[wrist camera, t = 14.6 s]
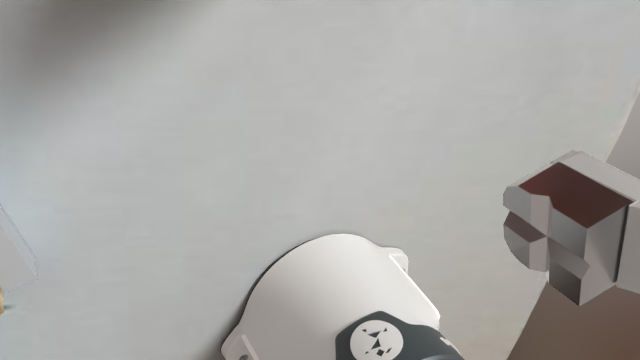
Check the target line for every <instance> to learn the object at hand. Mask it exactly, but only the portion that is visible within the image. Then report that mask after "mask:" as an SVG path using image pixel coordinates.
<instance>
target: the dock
mask: <svg viewBox="0 0 640 360" xmlns="http://www.w3.org/2000/svg"><path fill="white" fill-rule="evenodd" d="M37 279H38V278H37V271H36V264H35V257H34V255H33V254H32V252H31V251H30V249H29V248H28V246H27V245H26V243H25V242H24V240H23V238H22V237H21V235H20V234H19V232H18V231H17V229H16V228H15V226H14V225H13V223H12V222H11V220H10V219H9V217H8V216H7V214H6V213H5V211H4V210H3V208H2V207H1V205H0V287H1V288H2V295H4V294H6V293H8V292H10V291H12V290H15V289H17V288H19V287H21V286H23V285H26V284H28V283H30V282H32V281H34V280H37Z"/></svg>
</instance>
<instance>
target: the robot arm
mask: <svg viewBox="0 0 640 360" xmlns="http://www.w3.org/2000/svg"><path fill="white" fill-rule="evenodd" d="M503 206H505V207H506V208H507V209H508V210H510V212H509V214H508V216H507V218H506V220H505V222H504V224H503V225H504V238H505V240H506V242H507V245H508V247H509V249H510V251H511V252H512V253H513V255H514V256H515V257H516V258H517V259H518V260H519V261H520V262H521V263H522V264H524V265H525V266H526V267H527V268H529V269H532V270H537V271H542V272H546V276H547V279H548V283H549V284H550V285H551V286H552V287H554V288H555V289H556V290H558V291H559V292H560V293H562V294H563V295H564V296H566V297H567V298H568V299H570V300H571V301H572V302H574V303H575V304H576V305H578V306H581V305H582V304H584V303H586V302H587V301H589V300H590V299H592V298H594V297H595V296H597V295H599V294H600V293H602V292H604V291H605V290H607V289H608V288H610V287H612V286H613V285H615V284H617V285H616V286H617V287H620V288H623V289H626V290H630V291H633V292H636V293H640V180H639V179H637V178H635V177H633V176H631V175H629V174H627V173H625V172H623V171H621V170H619V169H617V168H615V167H613V166H611V165H609V164H607V163H605V162H603V161H601V160H599V159H597V158H595V157H593V156H591V155H589V154H587V153H585V152H582V151H575V150H572V151H570V152H568V153H567V154H565V155H563V156H561V157H559V158H558V159H556V160H554V161H552V162H551V163H550V164H546V165H545V166H543V167H541V168H539V169H538V170H536V171H534V172H532V173H530V174H529V175H527V176H525V177H523V178H522V179H520V180H518V181H516V182H515V183H513V184H511V185H509V186H508V187H507V188H506V190H505V192H504V194H503ZM407 271H408V257H407V256H406V255H405V254H404V252H403V251H402V250H401V249H398V248H381V247H379V246H376V245H375V244H373V243H372V242H370V241H368V240H367V239H365V238H363V237H360V236H357V235H352V234H333V235H327V236H323V237H320V238H317V239H314V240H311V241H309V242H307V243H305V244H302V245H301V246H299V247H297V248H295V249H294V250H292V251H291V252H289V253H288V254H286V255H285V256H284V257H282V258H281V259H280V260H279V261H277V262H276V263H275V264H274V265H273V266H272V267H271V268H270V269H269V270H268V271H267V272H266V274H265V275H264V276H263V277H262V278H261V280H260V281H259V282H258V284H257V285H256V287H255V289H254V290H253V292H252V294H251V296H250V298H249V300H248V302H247V305H246V308H245V311H244V314H243V316H242V318H241V320H240V322H239V324H238V325H237V326H236V327H235V329H234V330H233V331H232V332H231V334H230V335H229V336H228V337H227V339H226V340H225V342H224V343H223V345H222V348H221V353H222V355H223V356H224V358H225V359H226V360H464V359H463V357H462V356H461V354H460V353H459V351H458V350H457V349H456V347H455V346H454V345H453V344H452V343H451V342H449V341H448V340H447V339H445V338H444V337H443V336H442V335H441V333H440V332H438V330H439V318H440V315H439V312H438V310H437V309H436V308H435V306H434V305H433V304H432V303H431V302H430V301H429V299H428V298H427V297H426V296H425V295H424V294H423V292H422V291H421V290H420V289H419V288H418V286H417V285H416V284H415V283H414V282H413V281H412V280H411V278H410V277H409V276H408V275H407Z"/></svg>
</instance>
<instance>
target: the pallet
mask: <svg viewBox="0 0 640 360" xmlns="http://www.w3.org/2000/svg"><path fill="white" fill-rule="evenodd" d="M2 313H4V310H3V295H2V288H1V287H0V314H2Z"/></svg>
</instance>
